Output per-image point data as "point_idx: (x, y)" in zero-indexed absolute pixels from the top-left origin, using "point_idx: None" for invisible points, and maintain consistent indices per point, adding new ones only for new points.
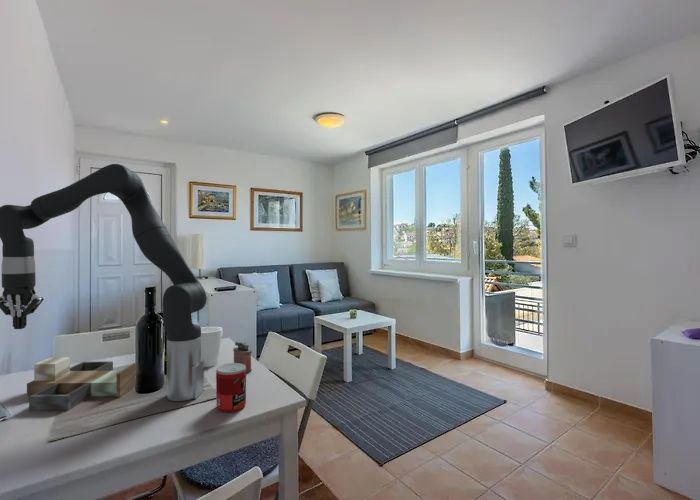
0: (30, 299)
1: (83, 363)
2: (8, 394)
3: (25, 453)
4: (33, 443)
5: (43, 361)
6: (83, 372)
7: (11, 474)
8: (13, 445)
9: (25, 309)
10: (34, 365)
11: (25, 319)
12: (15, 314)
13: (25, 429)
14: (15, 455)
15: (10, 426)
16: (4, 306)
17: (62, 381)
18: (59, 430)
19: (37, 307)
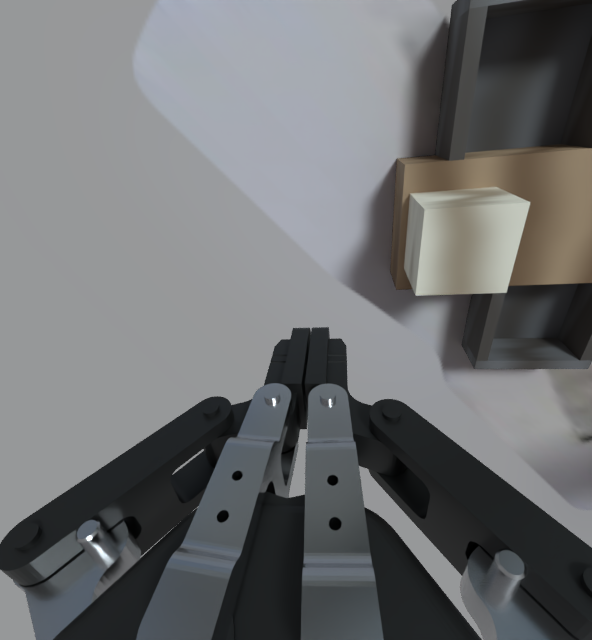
0: (430, 594)
1: (486, 14)
2: (316, 253)
3: (558, 462)
4: (555, 442)
5: (431, 263)
6: (555, 174)
7: (567, 493)
8: (521, 445)
9: (397, 501)
10: (415, 293)
11: (346, 380)
12: (297, 447)
13: (508, 406)
14: (544, 464)
15: (467, 396)
16: (181, 514)
17: (512, 271)
18: (584, 412)
19: (469, 454)
